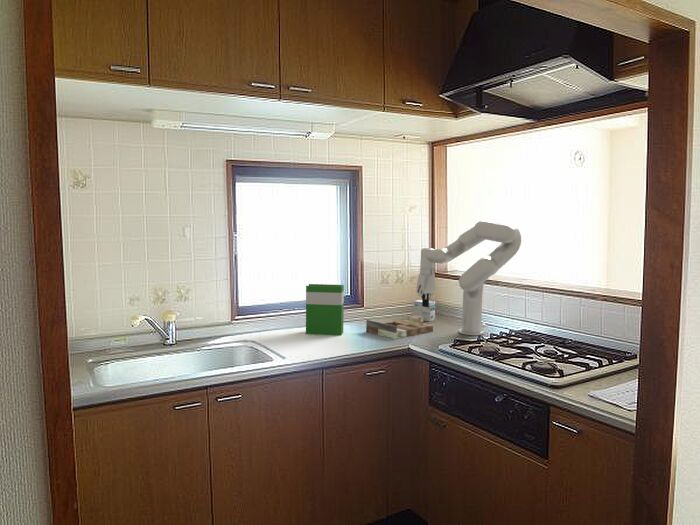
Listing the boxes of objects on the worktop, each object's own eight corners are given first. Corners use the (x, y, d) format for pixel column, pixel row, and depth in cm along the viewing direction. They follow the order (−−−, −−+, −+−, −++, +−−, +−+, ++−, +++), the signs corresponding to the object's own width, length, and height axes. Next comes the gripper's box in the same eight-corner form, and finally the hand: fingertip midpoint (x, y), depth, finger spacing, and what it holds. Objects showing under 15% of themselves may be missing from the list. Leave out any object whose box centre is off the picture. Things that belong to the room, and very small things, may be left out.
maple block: (415, 323, 272) (415, 315, 271) (423, 324, 268) (423, 316, 268) (409, 324, 268) (409, 316, 268) (416, 325, 265) (416, 318, 264)
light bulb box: (435, 319, 297) (435, 301, 296) (430, 321, 291) (430, 302, 290) (418, 317, 302) (418, 299, 302) (413, 319, 297) (413, 300, 296)
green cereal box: (305, 334, 257) (306, 285, 255) (308, 330, 264) (309, 283, 262) (341, 335, 255) (341, 286, 253) (343, 332, 262) (343, 284, 260)
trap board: (404, 324, 281) (404, 313, 281) (432, 331, 266) (433, 319, 266) (366, 331, 263) (366, 320, 262) (394, 339, 248) (395, 326, 248)
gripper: (430, 270, 279) (429, 304, 281) (412, 271, 269) (410, 306, 271) (441, 271, 273) (440, 306, 275) (423, 273, 263) (421, 309, 265)
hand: (425, 306), depth 273 cm, fingers closed
